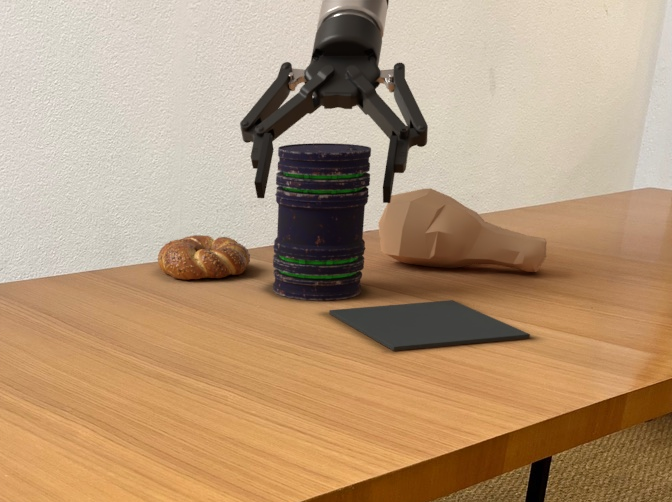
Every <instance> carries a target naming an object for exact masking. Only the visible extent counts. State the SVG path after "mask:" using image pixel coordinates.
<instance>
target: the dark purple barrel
mask: <svg viewBox="0 0 672 502" xmlns="http://www.w3.org/2000/svg"><path fill="white" fill-rule="evenodd" d="M371 155H372V148H371V147H370V146H367V145H362V144H361V145H360V144H353V143H332V142H331V143H329V142H328V143H327V142H325V143H323V142H321V143H320V142H319V143H318V142H316V143H314V142H313V143H293V144H287V145H285V144H284V145H281V146H278V149H277V156H278V158H279V159H278V162H277V171H278V172H276V173H275V175H276V176H275V181H276V182H275V185H276V186H277V187H276V188H275V189H276V191H275V192H276V193H275V194H274V195H275V202H276V203H277V205H278V209H277V232H276V233H277V234H276V238H275V239H274V241H273V242H274V243H273V246H272V248H273V253H274V254H273V257H272V258H273V259H272V267H273V268H274V270H273V277H274V282H273V283H272V284H273V286H272V291H273V292H274V293H275V294H277V295H278V296H281V297H285V298H289V299H295V300H304V301H339V300H345V299H351V298H354V297H357V296H358V295H360V294H361V292H362V285H361V279H362V277H363V272H362V270H364V268H365V267H364V265H365V257H364V256H363V255H365V251H366V247H365V246H366V242H365V240H364V239H363V235H364V223H365V222H364V221H365V210H366V209H365V208H366V205H367V204H368V202H369V197H370V195H369V186H370V184H371V183H370V182H371V174H370V173H369V172H370V169H371V163H370V158H371Z"/></svg>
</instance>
